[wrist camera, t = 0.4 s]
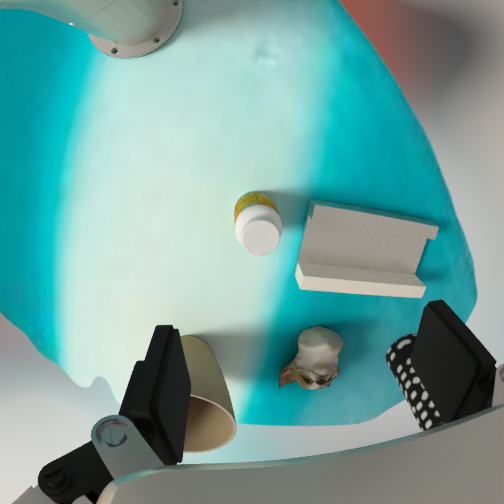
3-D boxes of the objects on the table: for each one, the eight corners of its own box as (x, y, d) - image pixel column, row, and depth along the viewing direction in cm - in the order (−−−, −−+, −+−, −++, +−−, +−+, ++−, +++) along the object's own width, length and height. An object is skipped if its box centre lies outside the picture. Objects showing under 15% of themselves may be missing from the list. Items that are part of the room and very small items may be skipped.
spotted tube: (398, 332, 54) (446, 413, 36) (429, 335, 55) (478, 407, 37) (378, 365, 57) (416, 445, 39) (410, 366, 58) (449, 439, 40)
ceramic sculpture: (366, 352, 43) (338, 410, 50) (351, 315, 51) (328, 375, 58) (296, 353, 42) (278, 413, 49) (288, 313, 50) (274, 375, 57)
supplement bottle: (255, 181, 41) (261, 202, 32) (283, 209, 43) (297, 237, 34) (225, 210, 42) (224, 238, 34) (254, 236, 44) (260, 270, 35)
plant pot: (230, 383, 56) (231, 456, 42) (150, 375, 55) (134, 446, 40) (238, 320, 50) (242, 398, 36) (144, 311, 48) (119, 385, 34)
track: (293, 271, 47) (300, 289, 42) (309, 198, 42) (319, 209, 38) (407, 282, 49) (421, 298, 45) (429, 220, 45) (446, 232, 40)
